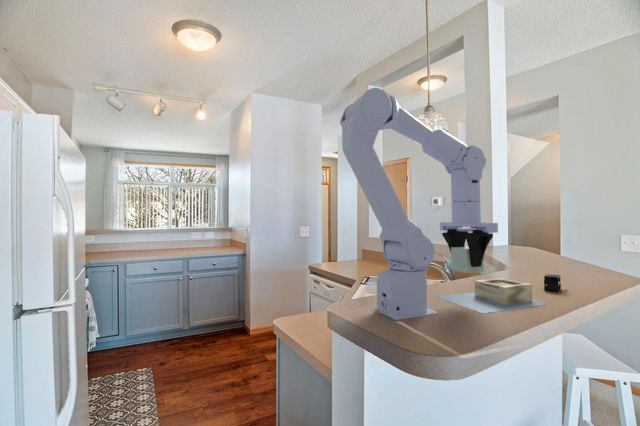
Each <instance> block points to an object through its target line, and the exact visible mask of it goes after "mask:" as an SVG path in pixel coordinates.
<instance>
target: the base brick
mask: <svg viewBox="0 0 640 426" xmlns="http://www.w3.org/2000/svg"><path fill="white" fill-rule="evenodd" d="M532 284H533V283H528V282H527V283H526V282H522V281H517V280H513V279H507V278H502V277H498V278H489V279H487V278H486V279H478V280H477V279H476V280H474V292H475V296H477V297H480V298H484V299H487V300H490V301H494V302H497V303H501V304H504V305H506V304H513V303H520V302H527V301H532V300H533V285H532Z"/></svg>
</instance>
